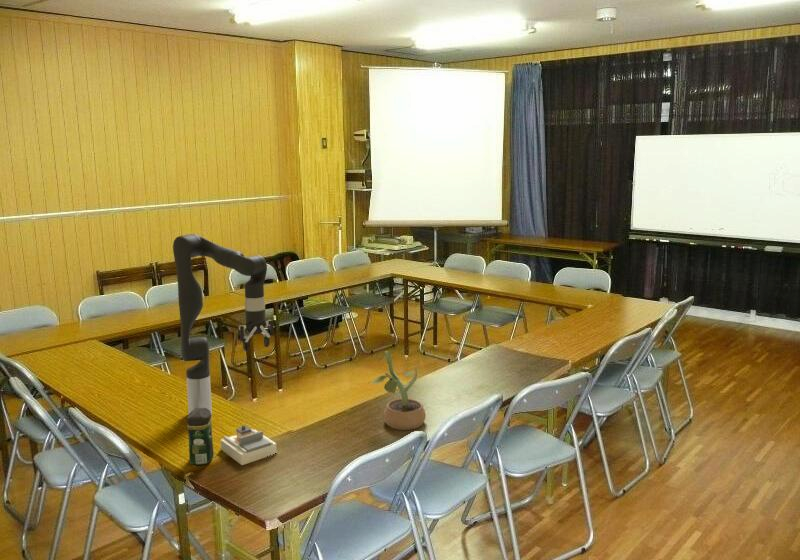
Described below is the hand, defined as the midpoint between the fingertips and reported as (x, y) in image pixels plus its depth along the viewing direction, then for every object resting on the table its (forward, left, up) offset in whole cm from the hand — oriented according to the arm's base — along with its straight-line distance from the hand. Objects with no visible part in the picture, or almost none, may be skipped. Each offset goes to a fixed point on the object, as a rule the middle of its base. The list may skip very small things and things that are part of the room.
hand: (256, 348), depth 263 cm
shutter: (+20, -13, -29) cm, 37 cm away
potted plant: (+30, +46, -33) cm, 64 cm away
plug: (+12, -13, -33) cm, 38 cm away
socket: (+15, -13, -33) cm, 39 cm away
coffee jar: (+10, -29, -33) cm, 45 cm away
